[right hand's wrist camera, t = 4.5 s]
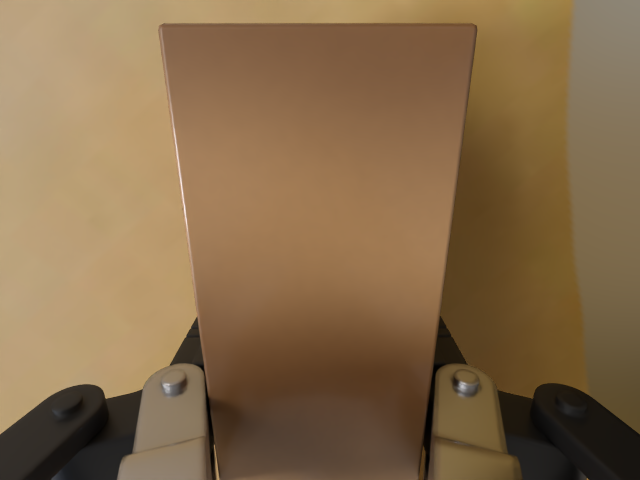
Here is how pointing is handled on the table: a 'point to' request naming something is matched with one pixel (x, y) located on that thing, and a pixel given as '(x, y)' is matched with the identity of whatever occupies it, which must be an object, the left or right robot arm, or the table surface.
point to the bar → (318, 233)
